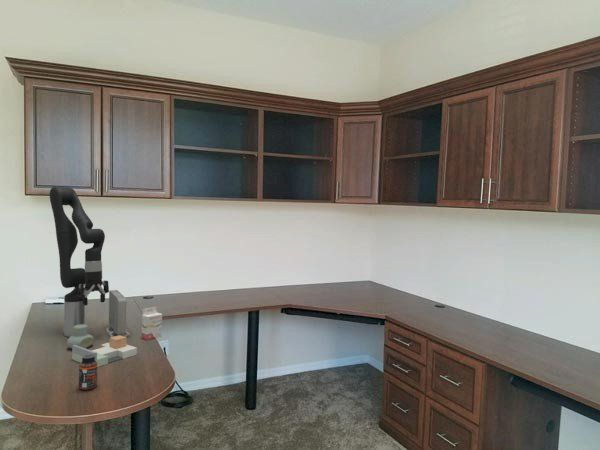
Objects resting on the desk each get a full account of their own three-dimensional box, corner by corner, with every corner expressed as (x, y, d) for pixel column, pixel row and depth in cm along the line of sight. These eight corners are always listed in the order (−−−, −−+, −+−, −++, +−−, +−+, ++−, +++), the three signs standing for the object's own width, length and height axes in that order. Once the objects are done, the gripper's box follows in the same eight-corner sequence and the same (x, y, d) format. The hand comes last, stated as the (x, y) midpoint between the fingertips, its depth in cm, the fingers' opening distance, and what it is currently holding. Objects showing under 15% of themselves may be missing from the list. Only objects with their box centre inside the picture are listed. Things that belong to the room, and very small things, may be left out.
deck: (72, 359, 179) (72, 345, 178) (115, 347, 196) (115, 334, 195) (94, 368, 170) (94, 353, 170) (137, 354, 187) (137, 341, 187)
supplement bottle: (87, 392, 148) (87, 360, 148) (74, 388, 151) (74, 357, 150) (100, 385, 154) (101, 354, 154) (88, 382, 156) (88, 352, 156)
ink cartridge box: (146, 340, 206) (147, 310, 206) (141, 338, 210) (141, 308, 209) (162, 336, 213) (162, 307, 213) (156, 334, 216) (157, 306, 216)
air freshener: (75, 352, 187) (76, 330, 187) (63, 349, 191) (63, 327, 190) (97, 345, 197) (97, 324, 197) (84, 342, 201) (85, 321, 200)
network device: (104, 327, 226) (104, 290, 226) (121, 325, 231) (122, 288, 231) (112, 340, 205) (113, 299, 204) (131, 337, 210) (132, 297, 209)
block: (109, 346, 187) (109, 337, 187) (119, 343, 191) (119, 335, 191) (116, 349, 184) (116, 340, 184) (126, 346, 188) (126, 337, 188)
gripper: (102, 268, 212) (103, 300, 212) (74, 271, 200) (75, 305, 200) (111, 269, 208) (112, 302, 208) (83, 272, 196) (84, 307, 196)
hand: (94, 303), depth 204 cm, fingers open, 8 cm apart
